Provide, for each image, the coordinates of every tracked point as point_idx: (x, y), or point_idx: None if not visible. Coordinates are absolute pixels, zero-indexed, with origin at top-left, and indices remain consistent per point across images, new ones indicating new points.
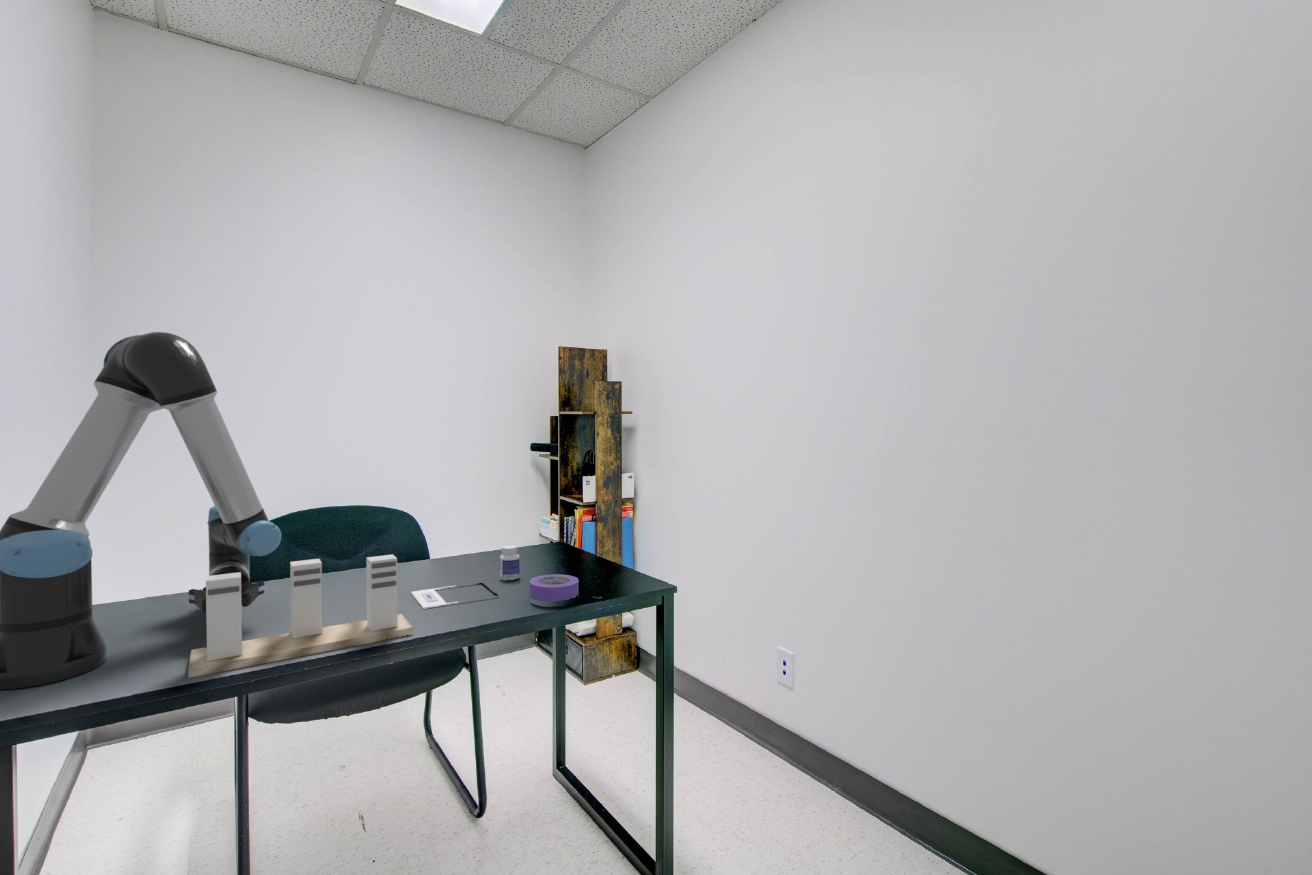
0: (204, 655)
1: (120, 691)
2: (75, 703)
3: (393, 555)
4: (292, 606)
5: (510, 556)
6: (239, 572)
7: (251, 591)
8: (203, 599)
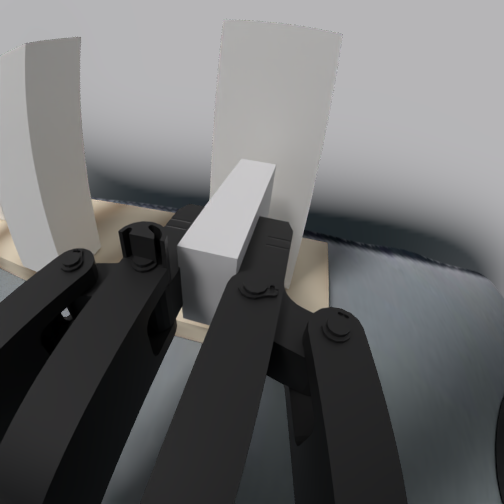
0: (296, 288)
1: (415, 276)
2: (452, 275)
3: None
4: (85, 163)
5: None
6: (228, 20)
7: (18, 290)
8: (355, 318)
